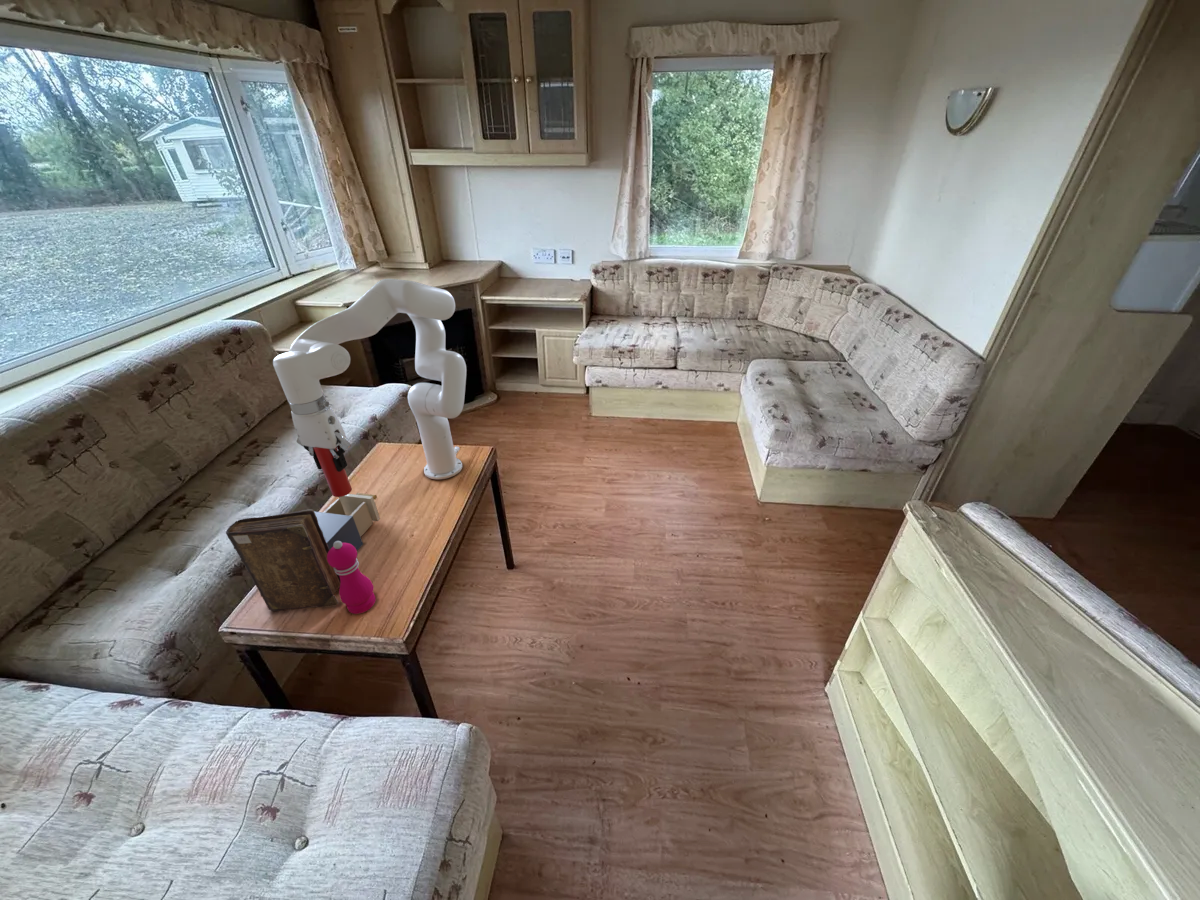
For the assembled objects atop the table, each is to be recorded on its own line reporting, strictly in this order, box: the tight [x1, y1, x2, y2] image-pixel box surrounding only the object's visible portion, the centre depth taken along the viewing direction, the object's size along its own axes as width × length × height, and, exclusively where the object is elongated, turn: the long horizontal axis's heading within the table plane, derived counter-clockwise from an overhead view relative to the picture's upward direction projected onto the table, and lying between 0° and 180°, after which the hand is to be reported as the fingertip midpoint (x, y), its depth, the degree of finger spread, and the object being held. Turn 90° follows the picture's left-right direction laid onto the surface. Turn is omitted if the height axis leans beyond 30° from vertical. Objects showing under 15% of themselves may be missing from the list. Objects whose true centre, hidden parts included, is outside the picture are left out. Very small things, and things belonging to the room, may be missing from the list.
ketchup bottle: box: [313, 447, 353, 498], centre depth 122 cm, size 5×5×18 cm
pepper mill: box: [327, 541, 377, 615], centre depth 110 cm, size 7×7×20 cm
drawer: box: [323, 492, 381, 537], centre depth 136 cm, size 18×10×8 cm, turn 169°
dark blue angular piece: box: [314, 510, 364, 552], centre depth 125 cm, size 15×12×10 cm
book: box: [225, 508, 341, 612], centre depth 110 cm, size 17×7×25 cm, turn 93°
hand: (332, 466), depth 123 cm, fingers closed on ketchup bottle, 4 cm apart
